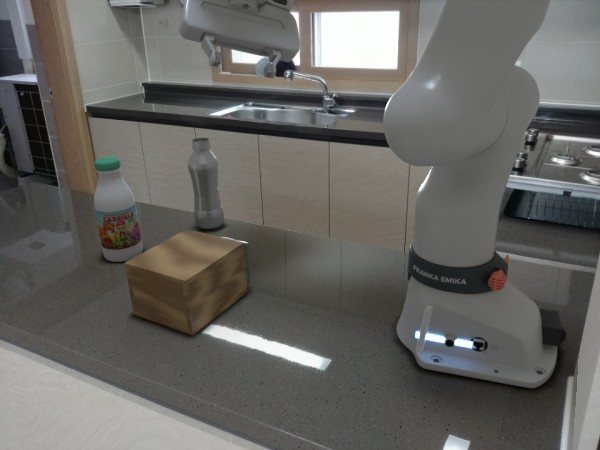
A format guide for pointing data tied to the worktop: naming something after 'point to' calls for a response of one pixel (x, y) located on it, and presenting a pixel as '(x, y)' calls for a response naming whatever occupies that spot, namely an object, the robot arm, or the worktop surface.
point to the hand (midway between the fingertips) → (243, 70)
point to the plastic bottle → (205, 185)
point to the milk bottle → (116, 213)
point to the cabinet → (187, 280)
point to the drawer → (246, 247)
